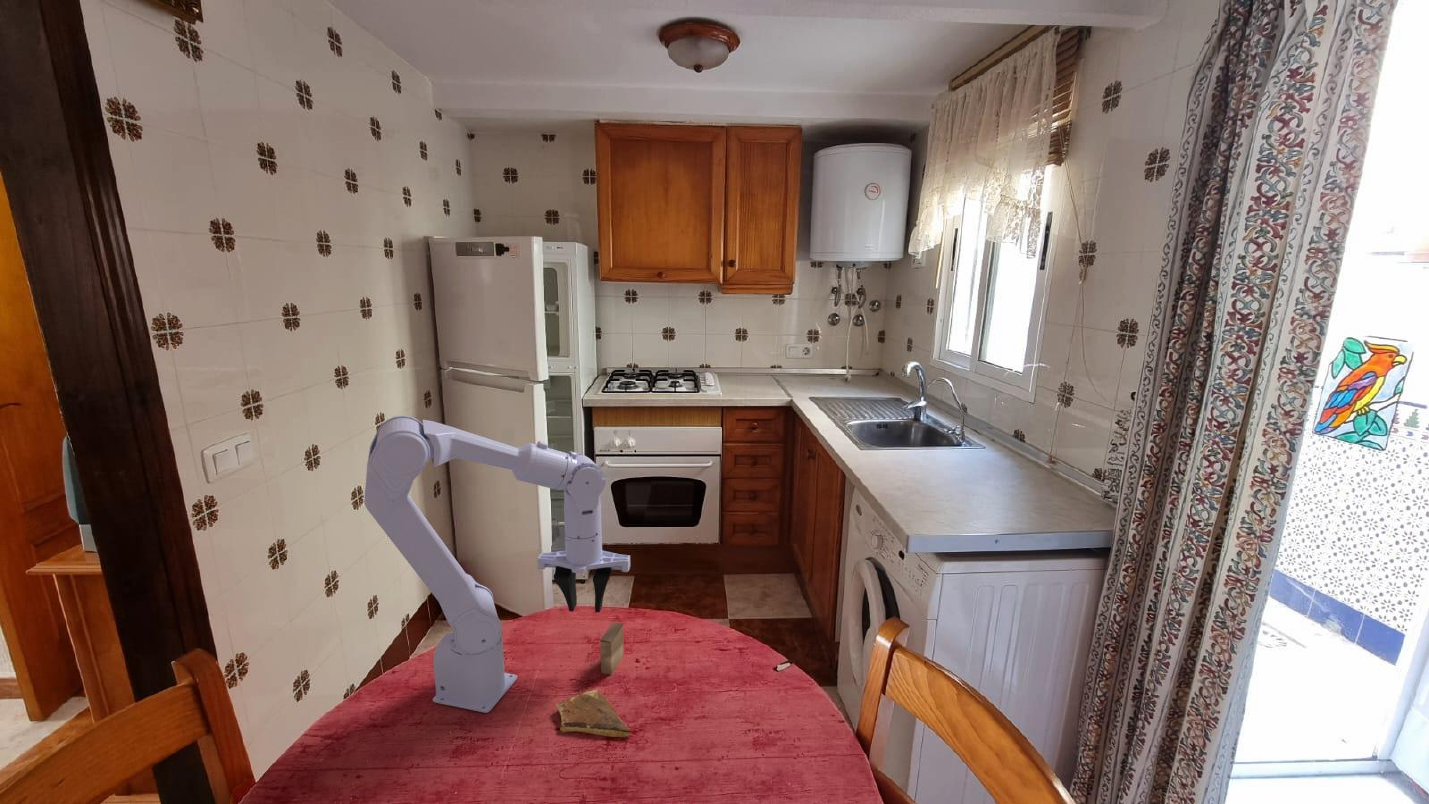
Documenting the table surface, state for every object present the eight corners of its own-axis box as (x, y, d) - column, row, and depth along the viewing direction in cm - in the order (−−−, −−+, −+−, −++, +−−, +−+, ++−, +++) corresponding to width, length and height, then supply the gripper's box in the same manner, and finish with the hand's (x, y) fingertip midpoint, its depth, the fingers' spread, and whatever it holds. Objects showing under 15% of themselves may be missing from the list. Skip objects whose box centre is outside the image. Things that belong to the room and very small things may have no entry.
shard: (631, 741, 79) (631, 730, 79) (579, 767, 75) (578, 755, 74) (598, 695, 88) (598, 685, 87) (549, 716, 83) (549, 705, 83)
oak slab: (601, 673, 92) (600, 639, 91) (613, 653, 97) (612, 622, 96) (611, 674, 92) (610, 641, 90) (623, 655, 96) (622, 623, 95)
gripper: (529, 541, 87) (533, 621, 90) (624, 543, 86) (625, 624, 89) (544, 522, 94) (547, 597, 96) (632, 524, 93) (633, 599, 96)
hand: (585, 608), depth 93 cm, fingers open, 4 cm apart
